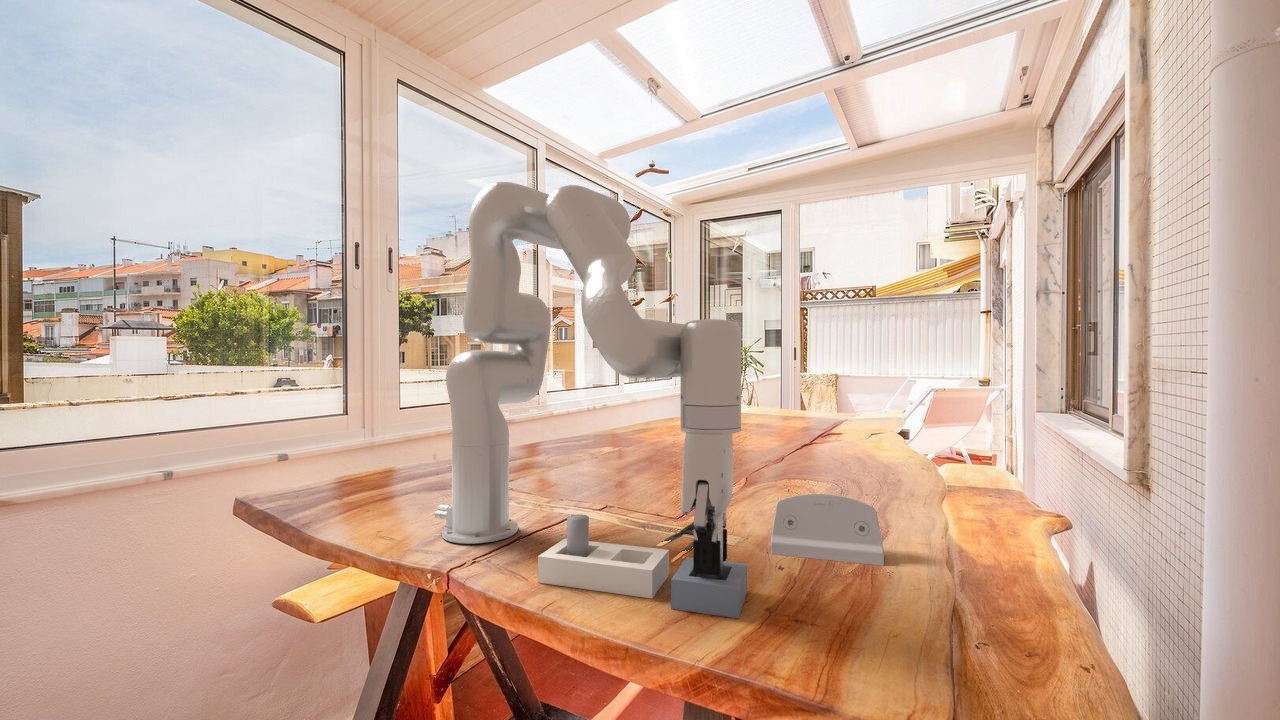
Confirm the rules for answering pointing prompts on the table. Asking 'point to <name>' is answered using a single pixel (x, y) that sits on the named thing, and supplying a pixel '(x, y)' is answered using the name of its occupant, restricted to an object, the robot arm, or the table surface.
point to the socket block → (710, 590)
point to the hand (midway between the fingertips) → (710, 564)
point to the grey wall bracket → (827, 529)
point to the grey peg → (720, 538)
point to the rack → (602, 564)
